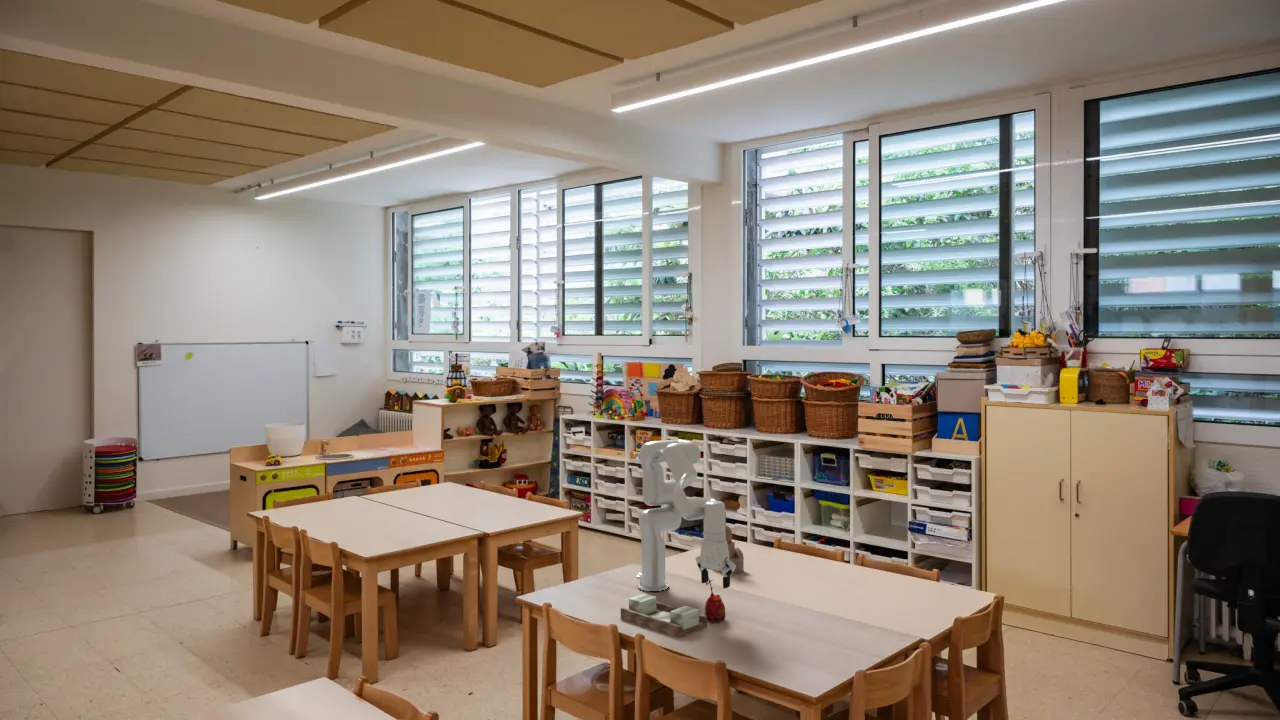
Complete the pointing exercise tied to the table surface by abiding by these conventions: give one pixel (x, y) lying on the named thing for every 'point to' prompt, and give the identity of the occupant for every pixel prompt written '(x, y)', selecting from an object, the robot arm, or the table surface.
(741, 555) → the wooden toy
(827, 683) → the table surface
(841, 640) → the table surface
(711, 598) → the red clay folk toy
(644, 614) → the display tray
